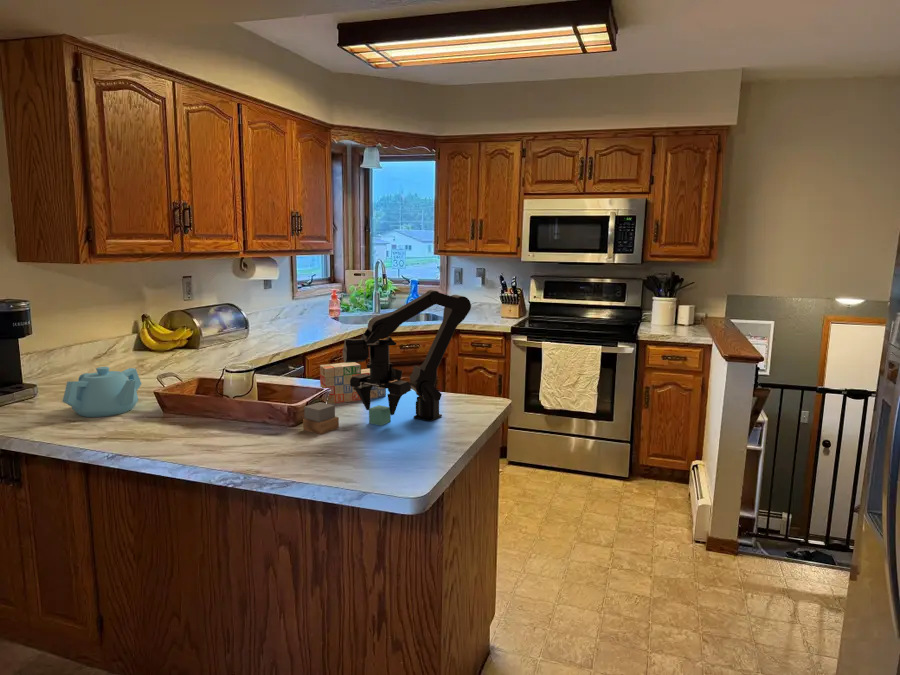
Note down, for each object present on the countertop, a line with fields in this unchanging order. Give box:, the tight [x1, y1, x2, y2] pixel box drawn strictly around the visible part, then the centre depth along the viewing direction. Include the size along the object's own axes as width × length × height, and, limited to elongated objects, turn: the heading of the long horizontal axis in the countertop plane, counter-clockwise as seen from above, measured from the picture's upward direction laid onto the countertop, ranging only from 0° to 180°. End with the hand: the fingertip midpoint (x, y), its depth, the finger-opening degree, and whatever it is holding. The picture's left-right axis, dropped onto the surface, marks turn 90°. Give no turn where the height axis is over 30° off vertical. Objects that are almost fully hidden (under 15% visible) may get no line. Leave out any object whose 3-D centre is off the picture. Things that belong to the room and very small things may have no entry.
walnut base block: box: [302, 415, 340, 435], centre depth 166 cm, size 7×7×4 cm
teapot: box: [62, 366, 142, 418], centre depth 182 cm, size 19×19×14 cm
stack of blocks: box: [319, 362, 387, 405], centre depth 198 cm, size 21×6×12 cm, turn 119°
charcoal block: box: [303, 401, 336, 422], centre depth 166 cm, size 6×6×4 cm
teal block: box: [368, 404, 392, 427], centre depth 172 cm, size 4×4×4 cm
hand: (380, 412), depth 172 cm, fingers open, 9 cm apart
